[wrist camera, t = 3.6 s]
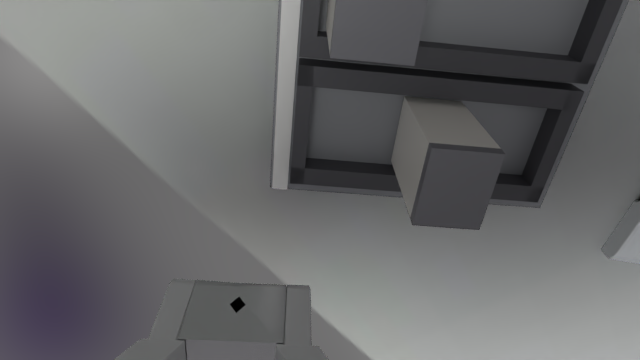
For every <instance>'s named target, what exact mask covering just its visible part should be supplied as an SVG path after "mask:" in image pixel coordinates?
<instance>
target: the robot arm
mask: <svg viewBox="0 0 640 360" xmlns="http://www.w3.org/2000/svg"><path fill="white" fill-rule="evenodd" d="M114 360H329V359H328V358H327V357H326V355H325V354H324V353H323V351H322V350H321V349H320V348H319V346H312V343H311V292H310V287H309V286H305V285H287V287H286V285H276V284H252V283H230V282H218V281H205V280H185V279H173V280H172V281H171V282H170V283H169V286H168V288H167V291H166V294H165V296H164V299H163V302H162V304H161V307H160V309H159V312H158V314H157V317H156V320H155V322H154V325H153V328H152V330H151V333H150V335H149V338H148V339H140V340H139V341H138V342H136V343H135V344H133V345H132V346H131V347H130V348H129V349H127V350H126V351H125V352H123V353H122V354H121V355H120V356H118V357H117V358H116V359H114Z"/></svg>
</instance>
